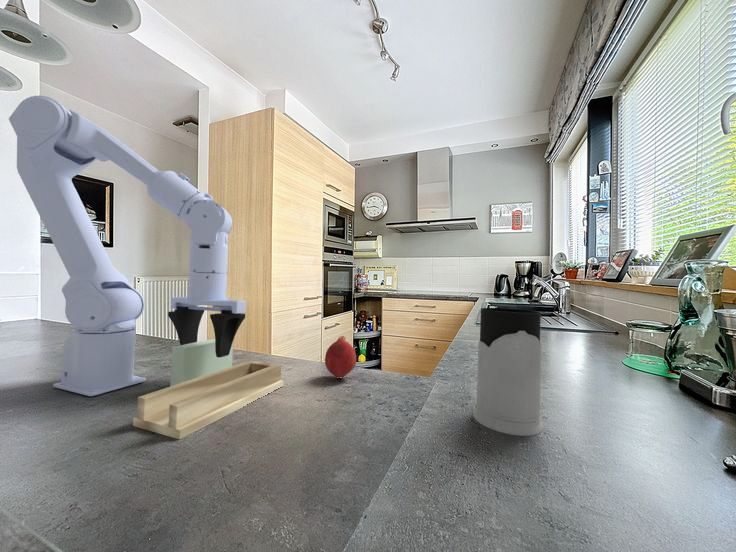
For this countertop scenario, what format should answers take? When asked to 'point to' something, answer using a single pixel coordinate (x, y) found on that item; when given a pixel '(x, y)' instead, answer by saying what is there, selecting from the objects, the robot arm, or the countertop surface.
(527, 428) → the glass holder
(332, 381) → the countertop surface
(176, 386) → the floor track
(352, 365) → the onion
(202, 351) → the door panel
